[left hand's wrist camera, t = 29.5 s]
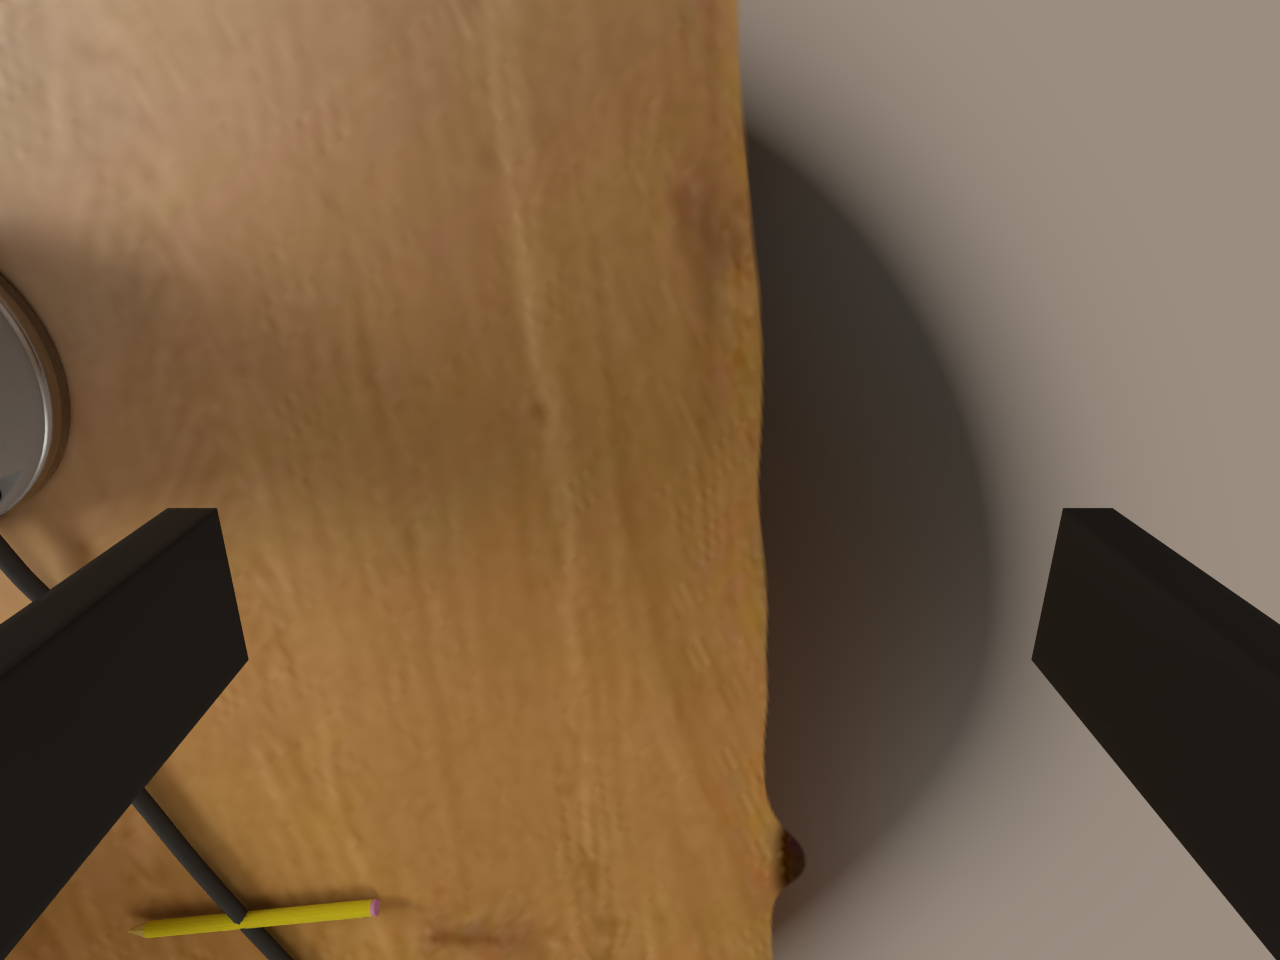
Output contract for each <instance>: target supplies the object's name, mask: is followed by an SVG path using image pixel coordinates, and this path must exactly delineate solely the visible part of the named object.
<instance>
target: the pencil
mask: <svg viewBox="0 0 1280 960" xmlns="http://www.w3.org/2000/svg"><path fill="white" fill-rule="evenodd" d="M379 911H380V901H379V899H367V900H356V901H346V902H336V903H325V904H315V905H305V906H295V907H284V908H274V909H264V910H254V911H248V912H247V914H246V916H245V917H244V919H243V921H242V922H241V923H240V925H239V924H235V923H234V922H233V921H232V920H231V919H230V918H229V917H228V916H227V915H226V914H225V913H223V914H213V915H202V916H192V917H182V918H172V919H161V920H151V921H148V922H146V923H144V924H142V925H139V926H137V927H135V928H133V929H131V930H129V931H126V932H129V933H133V934H136V935H139V936H142V937H145V938H153V937H164V936H174V935H185V934H195V933H205V932H216V931H226V930H237V929H242V928H258V927H268V926H279V925H289V924H299V923H310V922H320V921H331V920H341V919H352V918H362V917H372V916H377V915H378V914H379Z"/></svg>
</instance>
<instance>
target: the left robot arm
mask: <svg viewBox="0 0 1280 960" xmlns="http://www.w3.org/2000/svg"><path fill="white" fill-rule="evenodd" d="M69 424H70V404H69V396H68V389H67V385H66V380H65V376H64V373H63V370H62V367H61V364H60V361H59V358H58V356H57V353H56V351H55V349H54V346H53V344H52V342H51V340H50V338H49V337H48V335H47V333H46V331H45V329H44V328H43V326H42V324H41V323H40V321H39V320H38V318H37V317H36V315H35V314H34V312H33V311H32V310H31V308H30V307H29V306H28V304H27V303H26V302H25V300H24V299H23V298H22V297H21V296H20V295H19V294H18V292H17V291H16V290H15V289H14V288H13V287H12V286H11V285H10V284H9V283H8V282H7V281H6V280H5V279H4V278H3V277H2V276H1V275H0V516H1V515H3V514H5V513H6V512H8V511H10V510H12V509H14V508H16V507H18V506H20V505H22V504H23V503H25V502H26V501H28V500H29V499H30V498H32V497H33V496H34V495H35V494H37V493H38V492H39V491H40V490H41V489H42V488H43V487H44V486H45V484H46V483H47V482H48V481H49V480H50V478H51V477H52V475H53V474H54V472H55V471H56V469H57V467H58V465H59V463H60V461H61V459H62V456H63V453H64V450H65V447H66V444H67V439H68V434H69ZM0 569H1V570H2V571H3V572H4V574H5V575H6V576H7V577H8V578H9V579H10V580H11V581H12V582H13V583H14V584H15V585H16V587H17V588H19V589H20V590H21V591H22V592H23V593H24V594H25V595H26V596H27V597H28V598H29V599H30V600H31V601H32V603H30V604H29V605H28V606H26V607H25V608H23V609H22V610H20V611H19V612H18V613H16V614H15V615H13V616H12V617H10V618H9V619H7V620H6V621H5V622H3V623H2V624H0V960H4V959H5V958H6V956H7V955H8V954H9V953H10V952H11V950H12V949H13V948H14V947H15V945H16V944H17V943H18V942H19V941H20V939H21V938H22V937H23V936H24V934H25V933H26V932H27V931H28V929H29V928H30V927H31V926H32V925H33V923H34V922H35V921H36V920H37V918H38V917H39V916H40V915H41V914H42V912H43V911H44V910H45V909H46V907H47V906H48V905H49V904H50V903H51V901H52V900H53V899H54V898H55V896H56V895H57V894H58V893H59V891H60V890H61V889H62V888H63V887H64V885H65V884H66V883H67V882H68V880H69V879H70V878H71V877H72V876H73V874H74V873H75V872H76V871H77V869H78V868H79V867H80V866H81V865H82V863H83V862H84V861H85V860H86V858H87V857H88V856H89V855H90V853H91V852H92V851H93V850H94V849H95V847H96V846H97V845H98V844H99V842H100V841H101V840H102V839H103V838H104V836H105V835H106V834H107V833H108V831H109V830H110V829H111V828H112V827H113V825H114V824H115V823H116V822H117V820H118V819H119V818H120V817H121V815H122V814H123V813H124V812H125V811H126V809H127V808H128V807H129V806H130V804H131V803H132V805H133V806H134V807H135V808H136V809H137V811H138V812H139V813H140V814H141V815H142V817H143V818H144V819H145V820H146V821H147V823H148V824H149V825H150V826H151V827H152V829H153V830H154V831H155V832H156V834H157V835H158V836H159V837H160V839H161V840H162V841H163V842H164V843H165V845H166V846H167V847H168V848H169V850H170V851H171V852H172V853H173V854H174V856H175V857H176V858H177V859H178V860H179V862H180V863H181V864H182V865H183V866H184V867H185V869H186V870H187V871H188V872H189V873H190V874H191V876H192V877H193V878H194V879H195V880H196V881H197V882H198V884H199V885H200V886H201V887H202V888H203V889H204V890H205V891H206V892H207V894H208V895H209V896H210V897H211V898H212V899H213V900H214V901H215V902H216V904H217V905H218V906H219V907H220V908H221V909H222V910H223V911H224V912H225V914H226V915H227V916H228V917H229V918H230V919H231V920H232V921H233V922H234V923H235V924H239V925H240V923H241V922H242V921H243V919H244V917H245V916H246V914H247V912H248V910H247V909H246V908H245V907H244V906H243V905H242V904H241V903H240V901H239V900H238V899H237V898H236V897H235V896H234V895H233V894H232V892H231V891H230V890H229V889H228V888H227V887H226V886H225V885H224V883H223V882H222V881H221V880H220V879H219V878H218V877H217V875H216V874H215V873H214V872H213V871H212V870H211V869H210V867H209V866H208V865H207V864H206V863H205V862H204V861H203V859H202V858H201V857H200V856H199V855H198V853H197V852H196V851H195V850H194V849H193V847H192V846H191V845H190V844H189V843H188V841H187V840H186V839H185V838H184V836H183V835H182V834H181V833H180V831H179V830H178V829H177V828H176V826H175V825H174V824H173V823H172V821H171V820H170V819H169V818H168V816H167V815H166V814H165V813H164V811H163V810H162V809H161V808H160V806H159V805H158V804H157V803H156V802H155V800H154V799H153V798H152V797H151V795H150V794H149V793H148V792H147V791H146V789H145V788H144V787H145V786H146V785H147V784H148V782H149V781H150V780H151V779H152V777H153V776H154V775H155V774H156V773H157V771H158V770H159V769H160V768H161V766H162V765H163V764H164V763H165V762H166V760H167V759H168V758H169V757H170V755H171V754H172V753H173V752H174V750H175V749H176V748H177V747H178V746H179V744H180V743H181V742H182V741H183V739H184V738H185V737H186V736H187V735H188V733H189V732H190V731H191V730H192V728H193V727H194V726H195V725H196V724H197V722H198V721H199V720H200V719H201V717H202V716H203V715H204V714H205V712H206V711H207V710H208V709H209V708H210V706H211V705H212V704H213V703H214V701H215V700H216V699H217V698H218V697H219V695H220V694H221V693H222V692H223V690H224V689H225V688H226V687H227V686H228V684H229V683H230V682H231V681H232V679H233V678H234V677H235V676H236V674H237V673H238V672H239V671H240V670H241V668H242V667H243V666H244V665H245V663H246V662H247V661H248V655H247V650H246V645H245V640H244V636H243V631H242V626H241V621H240V616H239V612H238V607H237V602H236V597H235V592H234V588H233V583H232V578H231V573H230V568H229V564H228V559H227V554H226V549H225V544H224V540H223V535H222V530H221V525H220V521H219V516H218V511H217V508H167V509H166V510H164V511H163V512H161V513H160V514H158V515H157V516H156V517H154V518H153V519H151V520H150V521H148V522H147V523H146V524H144V525H143V526H141V527H140V528H138V529H137V530H135V531H134V532H133V533H131V534H130V535H128V536H127V537H125V538H124V539H123V540H121V541H120V542H118V543H117V544H115V545H114V546H112V547H111V548H110V549H108V550H107V551H105V552H104V553H102V554H101V555H100V556H98V557H97V558H95V559H94V560H92V561H91V562H89V563H88V564H87V565H85V566H84V567H82V568H81V569H79V570H78V571H76V572H75V573H74V574H72V575H71V576H69V577H68V578H66V579H65V580H64V581H62V582H61V583H59V584H58V585H56V586H55V587H53V588H52V589H51V590H50V589H49V588H48V587H47V586H46V585H45V584H44V583H43V582H42V581H41V580H40V579H39V578H38V577H37V576H36V575H35V574H34V573H33V572H32V571H31V570H30V569H29V568H28V567H27V565H26V564H25V563H24V562H23V561H22V560H21V559H20V557H19V556H18V555H17V554H16V553H15V551H14V550H13V549H12V548H11V547H10V546H9V544H8V543H7V542H6V541H5V540H4V538H3V537H2V536H1V535H0ZM1032 661H1033V662H1034V663H1035V665H1036V666H1037V667H1038V668H1039V670H1040V671H1041V672H1042V673H1043V674H1044V676H1045V677H1046V678H1047V679H1048V681H1049V682H1050V683H1051V684H1052V685H1053V687H1054V688H1055V689H1056V690H1057V692H1058V693H1059V694H1060V695H1061V696H1062V698H1063V699H1064V700H1065V701H1066V703H1067V704H1068V705H1069V706H1070V708H1071V709H1072V710H1073V711H1074V712H1075V714H1076V715H1077V716H1078V717H1079V719H1080V720H1081V721H1082V722H1083V723H1084V725H1085V726H1086V727H1087V728H1088V730H1089V731H1090V732H1091V733H1092V735H1093V736H1094V737H1095V738H1096V739H1097V741H1098V742H1099V743H1100V744H1101V746H1102V747H1103V748H1104V749H1105V750H1106V752H1107V753H1108V754H1109V755H1110V757H1111V758H1112V759H1113V760H1114V762H1115V763H1116V764H1117V765H1118V766H1119V768H1120V769H1121V770H1122V771H1123V773H1124V774H1125V775H1126V776H1127V777H1128V779H1129V780H1130V781H1131V782H1132V784H1133V785H1134V786H1135V787H1136V788H1137V790H1138V791H1139V792H1140V793H1141V795H1142V796H1143V797H1144V798H1145V799H1146V801H1147V802H1148V803H1149V804H1150V806H1151V807H1152V808H1153V809H1154V811H1155V812H1156V813H1157V814H1158V815H1159V817H1160V818H1161V819H1162V820H1163V822H1164V823H1165V824H1166V825H1167V826H1168V828H1169V829H1170V830H1171V831H1172V833H1173V834H1174V835H1175V836H1176V838H1177V839H1178V840H1179V841H1180V842H1181V844H1182V845H1183V846H1184V847H1185V849H1186V850H1187V851H1188V852H1189V853H1190V855H1191V856H1192V857H1193V858H1194V860H1195V861H1196V862H1197V863H1198V865H1199V866H1200V867H1201V868H1202V869H1203V871H1204V872H1205V873H1206V874H1207V876H1208V877H1209V878H1210V879H1211V880H1212V882H1213V883H1214V884H1215V885H1216V887H1217V888H1218V889H1219V890H1220V891H1221V893H1222V894H1223V895H1224V896H1225V898H1226V899H1227V900H1228V901H1229V903H1230V904H1231V905H1232V906H1233V907H1234V909H1235V910H1236V911H1237V912H1238V913H1239V915H1240V916H1241V917H1242V918H1243V920H1244V921H1245V922H1246V923H1247V925H1248V926H1249V927H1250V928H1251V929H1252V931H1253V932H1254V933H1255V934H1256V936H1257V937H1258V938H1259V939H1260V941H1261V942H1262V943H1263V944H1264V945H1265V947H1266V948H1267V949H1268V950H1269V952H1270V953H1271V954H1272V955H1273V956H1274V958H1275V959H1276V960H1280V624H1278V623H1277V622H1275V621H1274V620H1273V619H1271V618H1270V617H1268V616H1267V615H1265V614H1264V613H1262V612H1261V611H1260V610H1258V609H1257V608H1255V607H1254V606H1252V605H1251V604H1250V603H1248V602H1247V601H1245V600H1244V599H1242V598H1241V597H1239V596H1238V595H1237V594H1235V593H1234V592H1232V591H1231V590H1229V589H1228V588H1227V587H1225V586H1224V585H1222V584H1221V583H1219V582H1218V581H1216V580H1215V579H1214V578H1212V577H1211V576H1209V575H1208V574H1206V573H1205V572H1203V571H1202V570H1201V569H1199V568H1198V567H1196V566H1195V565H1193V564H1192V563H1191V562H1189V561H1188V560H1186V559H1185V558H1183V557H1182V556H1180V555H1179V554H1178V553H1176V552H1175V551H1173V550H1172V549H1170V548H1169V547H1168V546H1166V545H1165V544H1163V543H1162V542H1160V541H1159V540H1157V539H1156V538H1155V537H1153V536H1152V535H1150V534H1149V533H1147V532H1146V531H1145V530H1143V529H1142V528H1140V527H1139V526H1137V525H1136V524H1134V523H1133V522H1132V521H1130V520H1129V519H1127V518H1126V517H1124V516H1123V515H1121V514H1120V513H1119V512H1117V511H1116V510H1114V509H1113V508H1063V511H1062V516H1061V521H1060V525H1059V530H1058V535H1057V540H1056V544H1055V549H1054V554H1053V559H1052V564H1051V568H1050V573H1049V578H1048V583H1047V588H1046V592H1045V597H1044V602H1043V607H1042V612H1041V617H1040V621H1039V626H1038V631H1037V636H1036V640H1035V645H1034V650H1033V655H1032ZM240 930H241V931H242V932H243V933H244V934H245V935H246V936H247V937H248V939H249V940H250V941H251V942H252V943H253V944H254V945H255V946H256V947H257V948H258V949H259V950H260V951H261V952H262V953H263V954H264V955H265V956H266V957H267V958H268V959H269V960H293V959H292V958H291V956H290V955H289V954H288V953H287V952H286V951H285V950H284V949H283V948H282V947H281V946H280V945H279V944H278V943H277V942H276V941H275V940H274V939H273V937H272V936H271V935H270V934H269V933H268V932H267V931H266V930H265V929H264V928H263V927H258V928H242V929H240Z"/></svg>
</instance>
